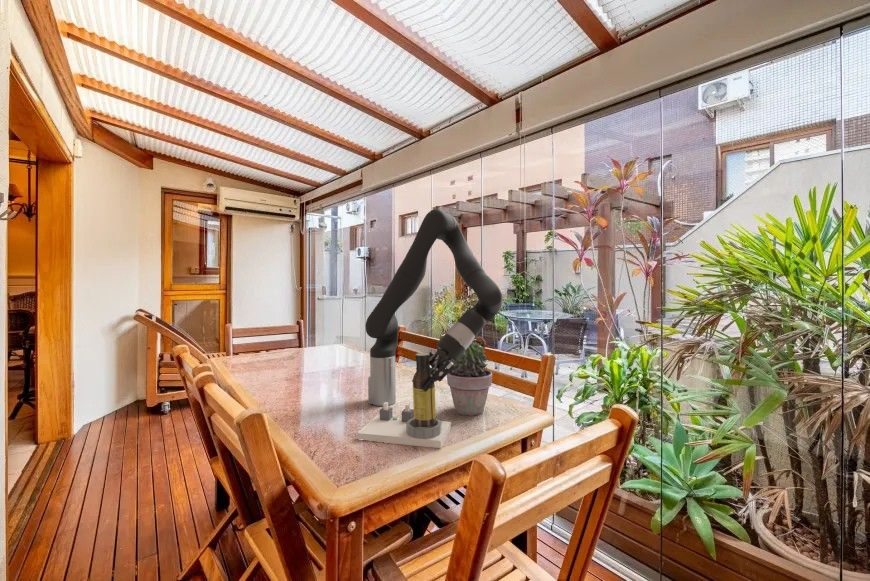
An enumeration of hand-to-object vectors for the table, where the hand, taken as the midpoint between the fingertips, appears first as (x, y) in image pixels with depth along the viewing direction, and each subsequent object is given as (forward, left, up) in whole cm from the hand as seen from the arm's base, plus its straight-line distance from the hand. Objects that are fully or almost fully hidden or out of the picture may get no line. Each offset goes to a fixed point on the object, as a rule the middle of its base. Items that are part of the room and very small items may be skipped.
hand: (418, 386), depth 106 cm
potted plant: (+10, +26, -15) cm, 32 cm away
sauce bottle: (+1, +1, -11) cm, 11 cm away
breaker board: (-5, +3, -15) cm, 16 cm away
